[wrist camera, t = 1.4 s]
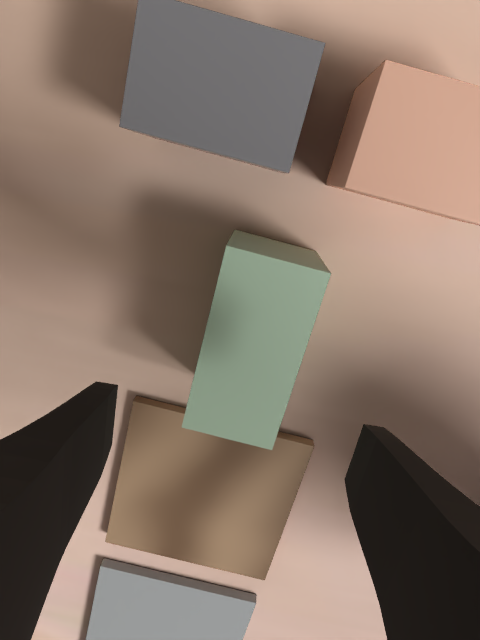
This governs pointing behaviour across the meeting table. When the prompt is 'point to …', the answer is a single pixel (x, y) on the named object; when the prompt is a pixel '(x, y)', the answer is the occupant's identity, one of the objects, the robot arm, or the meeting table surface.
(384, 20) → the meeting table surface
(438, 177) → the terracotta brick
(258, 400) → the sage brick
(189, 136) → the charcoal brick
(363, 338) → the meeting table surface
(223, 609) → the grey mat
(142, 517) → the walnut board
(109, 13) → the meeting table surface
